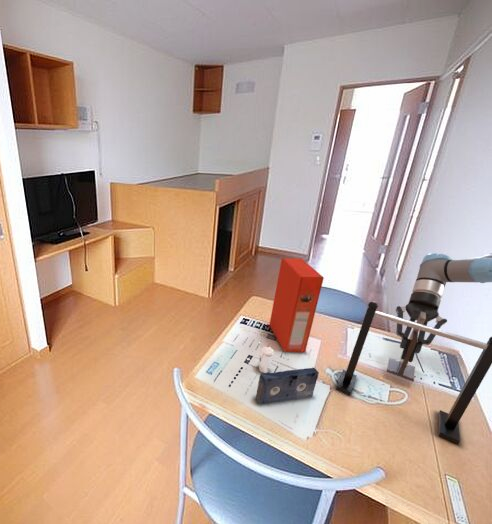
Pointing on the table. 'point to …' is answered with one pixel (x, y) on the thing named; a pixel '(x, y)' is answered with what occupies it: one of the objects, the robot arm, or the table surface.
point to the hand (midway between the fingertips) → (406, 359)
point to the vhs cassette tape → (286, 385)
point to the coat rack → (446, 422)
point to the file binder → (295, 303)
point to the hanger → (402, 366)
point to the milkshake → (265, 358)
